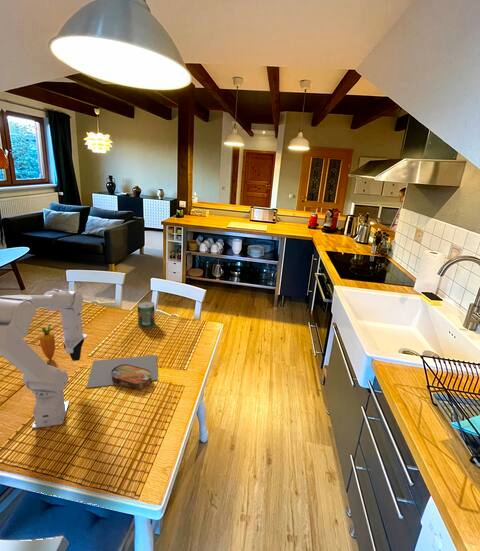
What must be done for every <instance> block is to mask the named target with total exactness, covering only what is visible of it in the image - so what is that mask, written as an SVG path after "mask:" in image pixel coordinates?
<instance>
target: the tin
mask: <svg viewBox="0 0 480 551" xmlns="http://www.w3.org/2000/svg"><path fill="white" fill-rule="evenodd" d="M111 376H112V380H113V382H115V383H117V384H121V385H122V386H125V387H128V388H132V389H137V390H138V389H144V388H146V387H147V386H148V385H149V384H150V383H151V382H152V381H151V372H150V371H149V370H147V369H143V368H140V367H136V366H132V365H129V364H123V365H119V366H117V367H115V368H114V369H113V370H112V371H111Z"/></svg>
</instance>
